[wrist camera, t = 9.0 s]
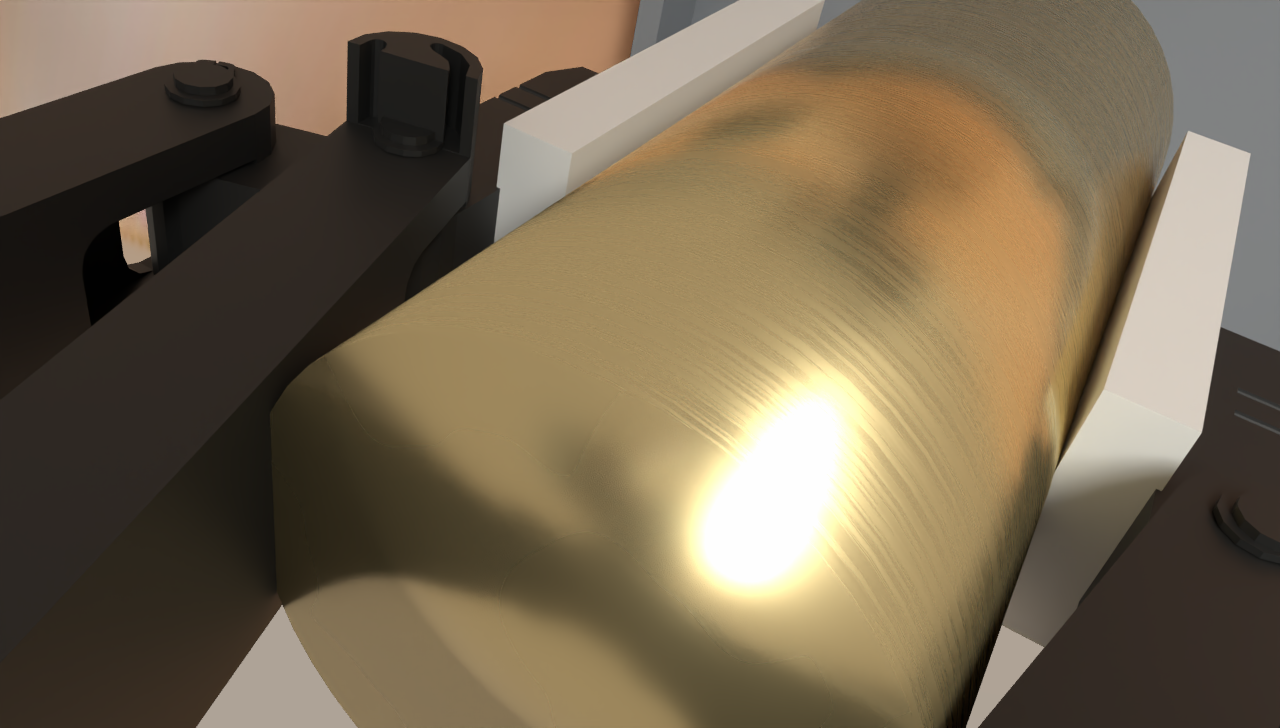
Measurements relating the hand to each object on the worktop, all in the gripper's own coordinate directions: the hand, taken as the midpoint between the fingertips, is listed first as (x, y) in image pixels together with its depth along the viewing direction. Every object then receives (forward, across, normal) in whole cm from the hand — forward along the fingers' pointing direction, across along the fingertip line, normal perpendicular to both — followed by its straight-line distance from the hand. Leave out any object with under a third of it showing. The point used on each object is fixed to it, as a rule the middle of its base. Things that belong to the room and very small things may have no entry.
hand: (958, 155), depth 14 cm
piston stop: (+2, 0, 0) cm, 2 cm away
